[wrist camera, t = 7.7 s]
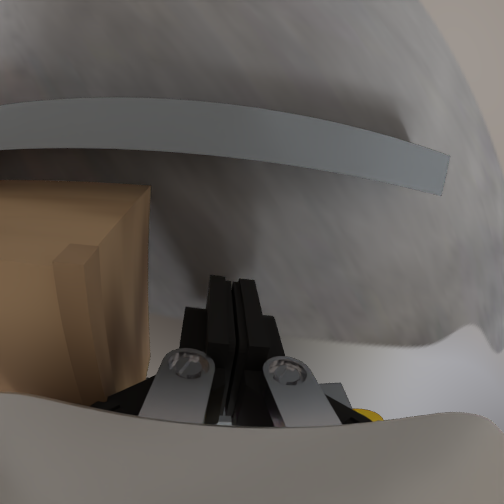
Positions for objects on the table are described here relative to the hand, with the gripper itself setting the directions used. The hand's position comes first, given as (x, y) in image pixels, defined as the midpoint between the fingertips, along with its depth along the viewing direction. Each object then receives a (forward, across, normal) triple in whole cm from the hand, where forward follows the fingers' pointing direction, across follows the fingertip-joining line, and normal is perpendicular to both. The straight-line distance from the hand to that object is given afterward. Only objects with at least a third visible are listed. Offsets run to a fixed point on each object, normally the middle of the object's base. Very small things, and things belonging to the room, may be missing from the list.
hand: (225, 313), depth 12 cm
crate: (+2, +7, 0) cm, 7 cm away
